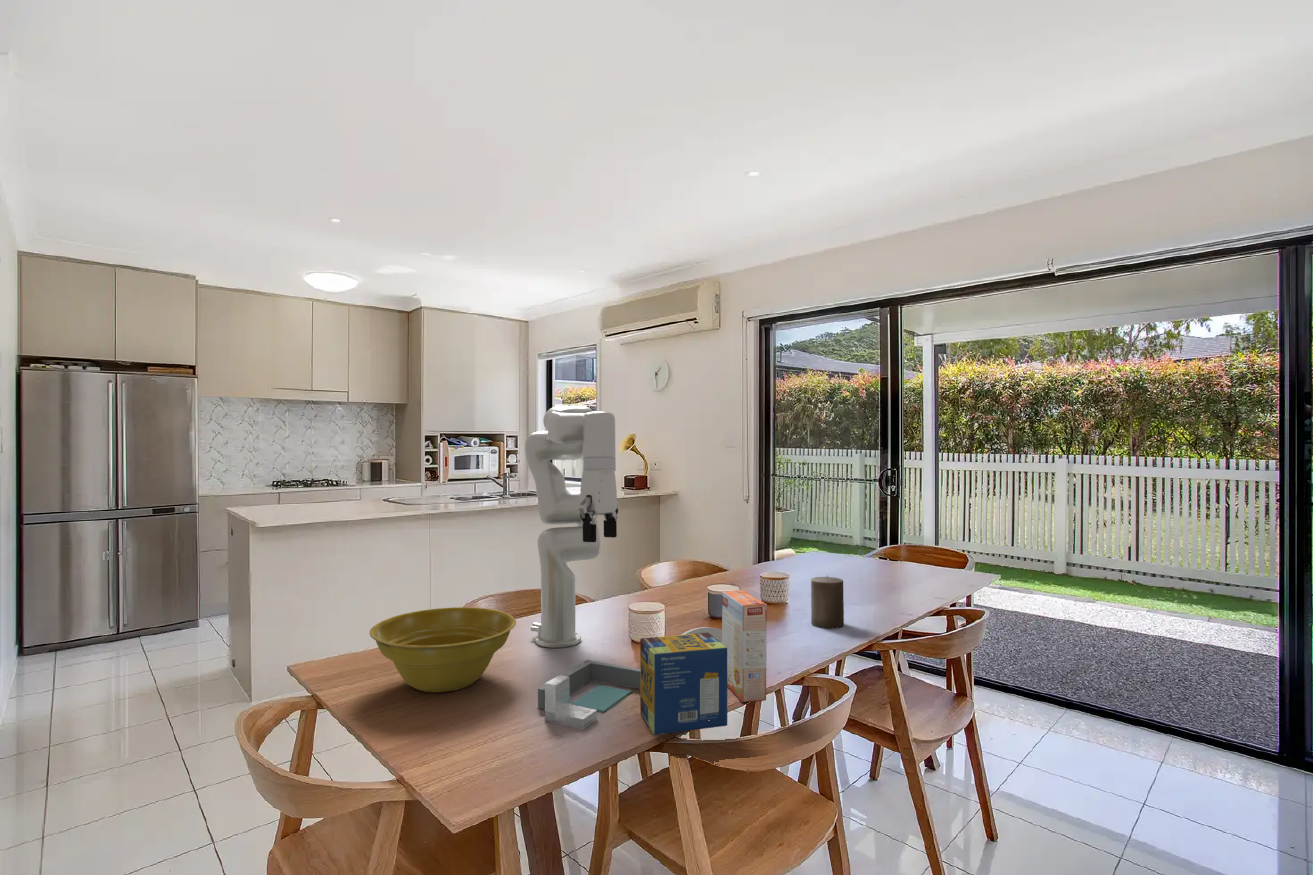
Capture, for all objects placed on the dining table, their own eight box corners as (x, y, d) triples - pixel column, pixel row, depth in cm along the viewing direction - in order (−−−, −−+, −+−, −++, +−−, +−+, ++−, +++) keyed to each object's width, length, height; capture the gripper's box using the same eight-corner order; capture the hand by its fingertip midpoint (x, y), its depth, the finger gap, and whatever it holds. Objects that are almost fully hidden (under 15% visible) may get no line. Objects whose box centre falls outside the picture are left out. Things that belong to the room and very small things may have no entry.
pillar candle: (847, 629, 193) (847, 578, 193) (814, 628, 193) (814, 578, 194) (838, 620, 203) (838, 572, 203) (807, 620, 203) (807, 572, 203)
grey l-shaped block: (544, 721, 129) (544, 683, 129) (559, 711, 134) (559, 675, 134) (583, 729, 125) (583, 690, 125) (596, 719, 130) (596, 682, 130)
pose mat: (570, 705, 137) (570, 703, 137) (600, 686, 147) (600, 684, 147) (603, 712, 133) (603, 710, 133) (631, 692, 144) (631, 690, 144)
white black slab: (683, 675, 154) (675, 632, 157) (672, 676, 158) (664, 634, 161) (736, 662, 164) (727, 621, 167) (724, 663, 168) (716, 624, 171)
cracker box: (768, 701, 139) (768, 603, 139) (741, 703, 138) (741, 604, 138) (745, 678, 153) (745, 589, 153) (721, 680, 151) (721, 590, 152)
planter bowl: (544, 673, 156) (544, 617, 156) (437, 722, 129) (437, 654, 129) (450, 651, 173) (450, 600, 173) (338, 691, 145) (338, 630, 145)
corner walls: (536, 707, 136) (536, 688, 136) (587, 676, 154) (587, 659, 154) (613, 724, 128) (613, 703, 128) (657, 689, 146) (657, 671, 146)
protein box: (639, 713, 133) (639, 637, 133) (710, 705, 137) (709, 631, 137) (653, 736, 123) (652, 653, 123) (729, 726, 127) (728, 646, 127)
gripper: (603, 465, 160) (603, 535, 159) (565, 465, 144) (566, 543, 143) (630, 464, 157) (631, 536, 156) (595, 465, 141) (596, 544, 140)
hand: (600, 539), depth 150 cm, fingers open, 9 cm apart
